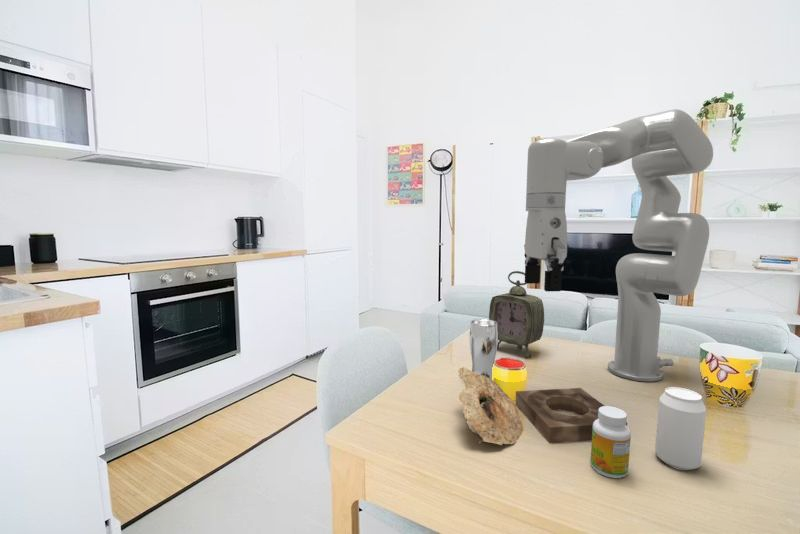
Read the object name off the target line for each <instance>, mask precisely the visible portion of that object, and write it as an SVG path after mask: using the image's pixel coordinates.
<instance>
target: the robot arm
mask: <svg viewBox="0 0 800 534" xmlns="http://www.w3.org/2000/svg"><path fill="white" fill-rule="evenodd" d="M630 159H631V168H632V171H633V173H634V175H635V178H636V179H637V182H638V184H639V188H640V191H641V199H640V204H639V208H638V211H637V212H638V213H637V215H636V219H635V223H634V227H633V231H632V238H631V239H632V243H633V244H634V246H635V247H636V248H638V249H642V250H646V251H654V252H655V251H658V252H672V253H675V254H674V255H667V254H658V253H657V254H656V253H655V254H654V253H640V252H639V253H637V252H636V253H629V254H626V255H624V256H622V257H621V258H620V259H619V260H618V261H617V264H616V266H615V276H616V283H617V293H618V294H617V296H618V297H617V299H618V300H617V314H616V315H617V316H616V326H615V327H616V329H615V331H616V332H615V343H614V344H615V346H614V360H611V361H609V362H608V363H607V366H606V367H607V370H608V371H609V372H610V373H611V374H613V375H616V376H617V377H620V378H625V379H628V380H631V381H632V380H633V381H637V382H638V381H639V382H658V381H661V380H662V379H663V378H664V372H663V371H662V370H661V368H663V367H673V366H674V360H673V359H672V358H663V359H662V358H661V356H658V350H659V337H660V327H661V316H662V315H661V314H662V313H661V312H662V310H661V307H660V306H661V305H660V303H659V301H658V298H657V297H656V296H655V294H662V295H669V296H674V297H675V296H676V297H685V296H689V295H690V294H692V293H693V292H694V291H695V289H696V288H697V285H698V283H699V282H698V281H699V279H700V276H701V271H702V268H703V263H704V259H705V255H706V253H707V247H708V245H709V244H708V243H709V240H710V226H709V223H708V220H707V218H705V217H704V216H703V215H702V214H699V213H693V212H679V208H680V205H681V200H682V196H681V193H680V191H679V189H678V188H677V187H676V186H675V184H673V182H672V181H671V180H670V179H669V177H670V176H680V175H681V176H682V175H690V174H691V175H692V174H697V173H701V172H703V171H705V170H706V169H708V167H709V166H710V165H711V163H712V161H713V159H714V147H713V145H712V143H711V140H710V139H709V137H708V135H707V134H706V133H705V132H704V130H703V129H702V128H701V126H700V125H699V124H698V123H697V122H696V120H695V119H694V118H693V117H692V116H691V115H690V114H688V113H687V112H686V111H684V110H681V109H677V108H676V109H669V110H665V111H661V112H657V113H652V114H651V113H650V114H647V115H642V116H638V117H635V118H632V119H629V120H625V121H623V122H619V123H618V124H613V125H612V126H607V127H606V128H602V129H599V130H595V131H594V132H593V131H592V132H590V133H588V134H584V135H582V136H579V137H575V138H572V139H569V140H566V141H565V140H564V139H559V138H546V139H545V138H544V139H539V140H536V141H533V142H531V143H530V145H529V146H528V149H527V165H526V167H527V170H526V192H525V193H526V195H525V196H526V197H525V199H526V200H525V212H527V218H526V226H525V227H526V228H525V237H524V238H525V239H524V240H525V241H524V246H523V247H524V257H525V260H524V273H525V275H524V283H527V284H528V285H529V284H540V283H541V282H540V281H541V280H540V279H541V265H540V262H541V261H544V264H545V267H546V270H544V284H543V287H544V289H543V290H544V291H545V292H548V293H549V292H561V291H562V284H563V283H562V282H563V280H562V279H563V271H564V265H565V264H566V258H567V257H568V255H567V254H568V226H567V225H568V224H567V216H566V200H567V199H566V198H567V181H578V180H579V181H580V180H586V179H589V178H592V177H594V176H595V175H597V174H598V173H599V172H600V171H601V169H603V168H607V167H612V166H615V165H619V164H622V163H624V162H626V161H628V160H630ZM527 284H526V285H527ZM654 293H655V294H654Z"/></svg>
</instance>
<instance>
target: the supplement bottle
mask: <svg viewBox="0 0 800 534" xmlns="http://www.w3.org/2000/svg"><path fill="white" fill-rule="evenodd" d="M627 415H628V414H627V412H625V411H624V410H623V409H620V408H618V407H615V406H611V405H604V406H602V407H600V408H599V410H598V418H599V419H597V420H595V421H594V423H593V429H592V440H591V448H590V466H591V467H592V468H593V469H594V470H595V472H597V473H598V474H600V475H603V476H604V477H607V478H610V477H611V478H610V479H622V477H623V478H625V477H626V476H627V475H628V473H629V466H630V464H629V463H630V454H631V453H630V450H631V439H632V438H631V436H632V435H631V434H632V433H631V430H630V428H629V426H628V425H627V426H626V422H627V421H628V420H627V419H628V416H627ZM627 423H628V422H627Z"/></svg>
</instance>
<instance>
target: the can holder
mask: <svg viewBox="0 0 800 534" xmlns="http://www.w3.org/2000/svg"><path fill="white" fill-rule="evenodd" d="M515 405H516V407H517V409H519V410H520V411H521V413H522V414H523V415H524V416H525V417H526V419H528V421H529V422H530V423H531V424H532V425H533V426H534V427H535V429H537V431H538V432H539V433H540V434H541V435H542V437H543V438H544V439H545V440H546V441H547V442H548V443H549V444H555V443H557V444H558V443H559V444H560V443H570V442H572V443H573V442H585V441H586V442H587V441H592V429H593V423H594V421H595V420H597V419H599V418H598V410H599V408H600V407H602V406H605V405H604V404H603V403H601V401H599V400H597V399H596V398H595V397H594V396H592V395H591V394H590V393H588V392H587V391H585V390H584V389H583V388H582V387H571V388H553V389H551V388H550V389H534V390H516V391H515ZM559 411H565V412H571V413H574V414H576V415H571V414H565V413H561V412H559ZM626 426H627V427H628V422H626Z"/></svg>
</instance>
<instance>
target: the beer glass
mask: <svg viewBox="0 0 800 534" xmlns="http://www.w3.org/2000/svg"><path fill="white" fill-rule="evenodd" d="M498 342H499V340H498V323H497V322H496V321H493V320H489V318H488V319H487V318H478V319H477V318H476V319H472V320H470V327H469V350H470V356H471V363H472V365H471V366H472V368H471V371H472V372H475V373H479V374H481V375H483V376H486V377H488V378H490V379H491V380H492V367H493V364H494V365H495V360H496V357H497V353H498V352H497V350H498V349H497V346H498Z"/></svg>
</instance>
